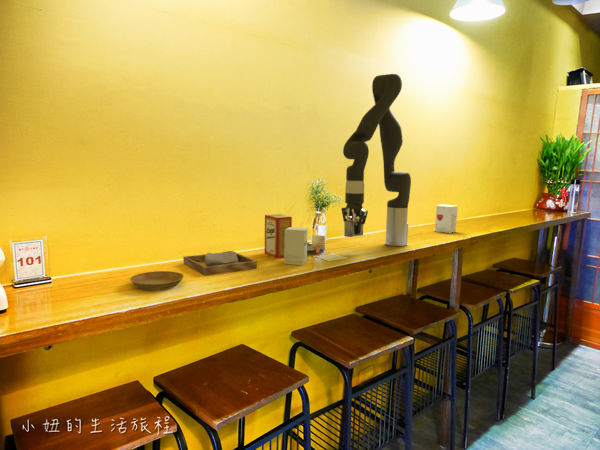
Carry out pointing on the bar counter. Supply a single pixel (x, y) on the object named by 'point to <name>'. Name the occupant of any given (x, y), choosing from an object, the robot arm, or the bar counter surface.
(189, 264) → the wooden tray
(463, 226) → the bar counter surface
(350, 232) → the grey rectangular block
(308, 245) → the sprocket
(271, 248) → the baking soda box
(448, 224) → the supplement box
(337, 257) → the seat tile
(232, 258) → the stone block
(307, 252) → the sprocket base
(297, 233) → the supplement box
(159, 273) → the plant saucer
